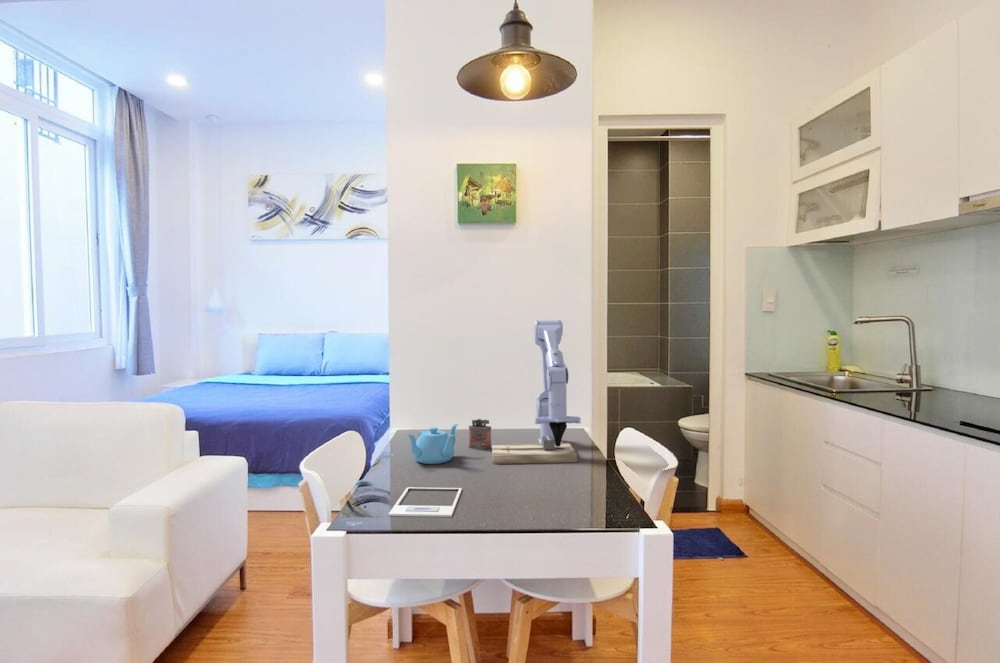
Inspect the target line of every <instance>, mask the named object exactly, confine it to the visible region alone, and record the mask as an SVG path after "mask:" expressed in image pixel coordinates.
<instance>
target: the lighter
mask: <svg viewBox="0 0 1000 663" xmlns="http://www.w3.org/2000/svg"><path fill="white" fill-rule="evenodd" d="M471 424H472V425H468V431H469V432H468V433H469V435H468V436H469V444H468V448H469V449H472V450H489V451H490V450H492V431H491V430H492V426H490V425H489V424H490V420H489V419H481V418H478V419H471Z"/></svg>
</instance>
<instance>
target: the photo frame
mask: <svg viewBox="0 0 1000 663" xmlns="http://www.w3.org/2000/svg"><path fill="white" fill-rule="evenodd" d="M409 490H429V491H430V490H441V491H442V490H444V491H445V490H447V491H449V490H451V491H456V490H457V492H456V496H455V498H454V501H453V503H452V505H417V504H416V505H411V504H410V505H408V504H407V505H406V504H405V505H404V504H402V505H401V502H402V501H403V499H404V498H405V497H406V495H407V494H408V493H409ZM462 490H463V488H462V487H417V486H416V487H415V486H414V487H413V486H411V487H410V486H409V487H408V486H407V487H406V488H405V489H404V491H403V492H402V494H401V495H400V497H399V498H398V499H397V501H395V502H396V503H395V504H394V505H393V507H392V508H391V510H390V511H389V512H388V517H418V518H419V517H423V518H424V517H432V518H452V516H453V514H454V512H455V510H456V507H457V503H458V500H459V498H460V496H461V493H462Z"/></svg>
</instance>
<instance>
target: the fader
mask: <svg viewBox="0 0 1000 663" xmlns="http://www.w3.org/2000/svg"><path fill="white" fill-rule="evenodd" d="M542 447H543V449H544V450H548V449H555V440H554V438H553V436H542Z"/></svg>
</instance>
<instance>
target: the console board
mask: <svg viewBox="0 0 1000 663" xmlns="http://www.w3.org/2000/svg"><path fill="white" fill-rule="evenodd" d="M491 452H492V453H491V454H492V456H491V457H492V464H493V465H496V464H497V465H498V464H499V465H500V464H501V465H502V464H505V465H506V464H507V465H508V464H541V463H542V464H545V463H547V464H550V463H553V464H554V463H578V453H577V452H576V451H575V448H574V447H573V446H572V445H571V443H570V442H562V443H561V444H560V446H556V445H555V449H548V450H544V449H543V447H542V443H539V442H538V443H537V442H536V443H534V442H533V443H531V442H530V443H491Z"/></svg>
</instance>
